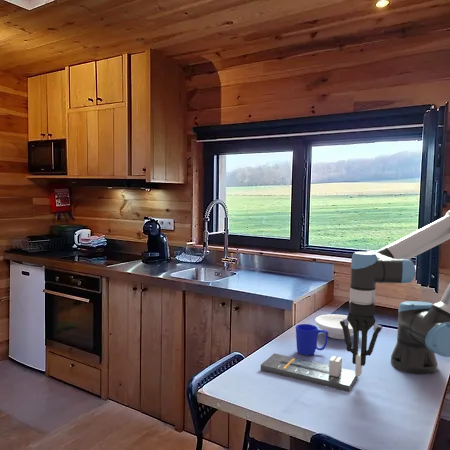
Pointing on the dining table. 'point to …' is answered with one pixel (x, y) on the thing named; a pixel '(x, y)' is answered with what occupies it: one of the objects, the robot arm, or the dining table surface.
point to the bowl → (333, 325)
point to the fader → (335, 366)
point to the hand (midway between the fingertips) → (358, 374)
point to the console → (308, 372)
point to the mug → (308, 339)
